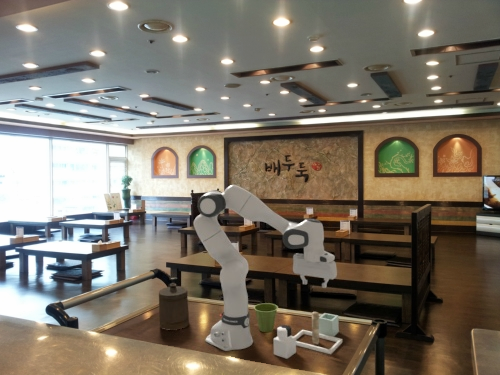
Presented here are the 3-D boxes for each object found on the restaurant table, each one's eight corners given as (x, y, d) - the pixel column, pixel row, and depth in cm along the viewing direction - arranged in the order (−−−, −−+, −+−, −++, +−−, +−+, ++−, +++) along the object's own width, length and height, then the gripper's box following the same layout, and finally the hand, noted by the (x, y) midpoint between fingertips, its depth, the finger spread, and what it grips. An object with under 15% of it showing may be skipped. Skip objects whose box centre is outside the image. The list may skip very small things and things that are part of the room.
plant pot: (276, 335, 198) (276, 312, 197) (252, 333, 200) (251, 311, 200) (280, 325, 210) (279, 303, 209) (257, 323, 212) (256, 302, 211)
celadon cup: (318, 336, 195) (318, 317, 194) (324, 330, 201) (324, 312, 200) (332, 339, 191) (332, 320, 190) (338, 334, 197) (338, 315, 196)
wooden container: (192, 319, 221) (190, 278, 219) (185, 331, 206) (182, 288, 204) (164, 319, 222) (162, 279, 221) (156, 330, 208) (153, 288, 206)
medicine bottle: (282, 348, 185) (282, 322, 184) (296, 352, 180) (295, 326, 179) (273, 354, 179) (272, 327, 178) (287, 359, 175) (286, 331, 174)
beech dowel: (311, 343, 186) (310, 313, 185) (314, 341, 189) (313, 311, 188) (317, 345, 185) (316, 314, 183) (320, 342, 187) (319, 312, 186)
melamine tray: (289, 345, 187) (289, 340, 187) (302, 334, 198) (302, 329, 198) (330, 356, 176) (330, 350, 176) (342, 344, 186) (342, 339, 186)
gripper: (289, 254, 187) (290, 284, 188) (332, 259, 175) (332, 291, 177) (296, 251, 192) (297, 280, 193) (338, 256, 181) (338, 287, 182)
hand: (314, 285), depth 185 cm, fingers open, 8 cm apart
